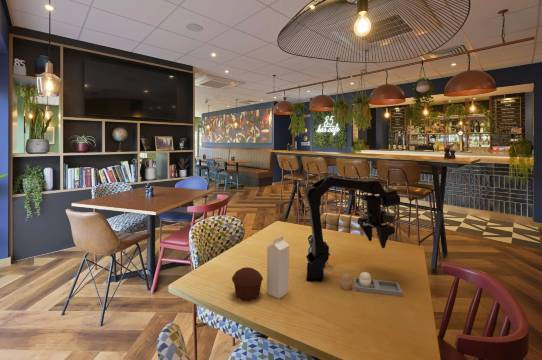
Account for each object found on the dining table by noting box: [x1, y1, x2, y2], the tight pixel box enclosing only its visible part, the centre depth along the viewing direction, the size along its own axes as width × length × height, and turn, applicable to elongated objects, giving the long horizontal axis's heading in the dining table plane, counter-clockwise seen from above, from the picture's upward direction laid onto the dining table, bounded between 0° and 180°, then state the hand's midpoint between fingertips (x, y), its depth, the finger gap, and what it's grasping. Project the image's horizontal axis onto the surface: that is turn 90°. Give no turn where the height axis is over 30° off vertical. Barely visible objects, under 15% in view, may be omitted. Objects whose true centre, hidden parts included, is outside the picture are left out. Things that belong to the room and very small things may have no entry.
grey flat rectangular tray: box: [352, 277, 403, 297], centre depth 115 cm, size 17×8×2 cm, turn 78°
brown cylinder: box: [339, 272, 352, 291], centre depth 115 cm, size 4×4×6 cm
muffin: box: [231, 266, 264, 302], centre depth 109 cm, size 12×11×10 cm
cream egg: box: [358, 271, 372, 288], centre depth 115 cm, size 4×4×6 cm
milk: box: [266, 235, 290, 299], centre depth 110 cm, size 6×6×22 cm
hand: (376, 244), depth 124 cm, fingers open, 9 cm apart
